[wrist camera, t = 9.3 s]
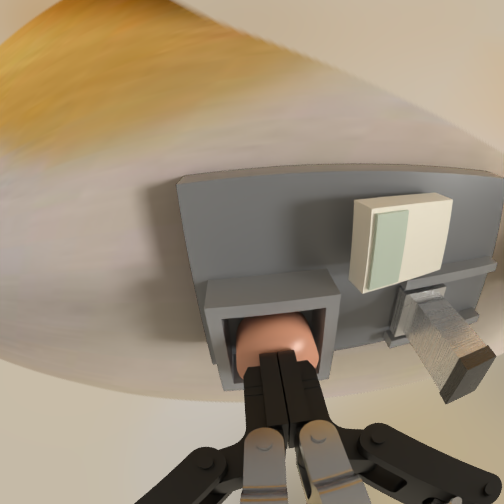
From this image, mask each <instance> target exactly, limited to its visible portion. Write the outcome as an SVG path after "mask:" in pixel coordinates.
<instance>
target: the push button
mask: <svg viewBox="0 0 504 504" xmlns="http://www.w3.org/2000/svg"><path fill="white" fill-rule="evenodd" d="M288 350H294V351H295V355H296V359H297V361H303V360H308V361H309V362H310V363H311V364H312V365H313V366H314V368H316V366H317V364H318V360H319V355H318V351H317V348H316V345H315V342H314V339H313V335H312V332H311V330H310V327H309V324H308V321H307V319H306V318H305V316H304V315H303V314H302V313H300V312H299V311H297V312H289V313H280V314H271V315H261V316H251V317H245V318H244V319H243V320H242V321H241V322H240V324H239V326H238V328H237V331H236V360H237V371H238V374H239V375H240V377H241V378H242V379H243V376H244V374H245V372H246V370H247V368H248V367H254V366H260V361H259V354H262V353H272V352H276V355H277V352H279V351H288Z"/></svg>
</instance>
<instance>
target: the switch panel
mask: <svg viewBox="0 0 504 504" xmlns="http://www.w3.org/2000/svg"><path fill="white" fill-rule="evenodd" d="M176 187H177V194H178V200H179V207H180V213H181V219H182V224H183V230H184V236H185V241H186V247H187V252H188V257H189V262H190V267H191V272H192V277H193V282H194V287H195V292H196V296H197V301H198V305H199V310H200V314H201V318H202V323H203V327H204V331H205V335H206V339H207V344H208V348H209V352H210V355H211V359H212V363H213V364H217V367H218V371H219V375H220V379H221V383H222V386H223V390H224V391H233V390H244V381H243V379H242V378H241V377H240V375H239V374H238V371H237V360H236V331H237V328H238V326H239V324H240V322H241V321H242V320H243V319H244V318H245V317H251V316H261V315H271V314H280V313H289V312H297V311H299V312H300V313H302V314H303V315H304V316H305V318H306V319H307V321H308V324H309V327H310V330H311V332H312V335H313V339H314V342H315V345H316V348H317V351H318V355H319V360H318V364H317V366H316V368H315V370H316V373H317V377H318V380H324V379H329V375H330V369H331V363H332V357H333V351H336V350H341V349H347V348H352V347H357V346H362V345H367V344H372V343H376V342H381V341H385V342H386V343H387V345H388V347H389V348H393V347H397V346H401V345H404V344H408V343H410V342H409V340H408V339H407V337H406V336H405V335H401V336H397V337H394V335H393V334H392V332H391V331H390V329H389V328H390V324H391V320H392V316H393V313H394V309H395V304H396V300H397V296H398V291H399V287H403V289H404V290H405V291H406V290H411V289H416V288H422V287H427V286H431V285H436V284H441V283H443V284H444V285H445V286H446V290H445V293H444V298H445V299H446V300H447V301H448V302H449V303H450V304H451V305H452V307H453V308H454V309H455V310H456V311H457V312H458V313H459V314H460V315H461V317H462V318H463V319H464V320H465V321H466V322H467V323H468V325H469V324H471V323H474V322H477V320H478V317H479V314H478V313H477V312H476V311H475V308H476V305H477V302H478V300H479V297H480V294H481V291H482V288H483V285H484V282H485V279H486V276H487V273H489V272H493V271H495V270H496V267H497V262H496V261H495V260H493V259H492V255H493V251H494V247H495V243H496V239H497V235H498V230H499V225H500V220H501V215H502V209H503V203H504V178H503V177H501V176H498V175H496V174H493V173H490V172H488V171H481V170H472V169H462V168H451V167H438V166H423V165H401V164H316V165H293V166H276V167H262V168H249V169H238V170H228V171H219V172H210V173H201V174H193V175H186V176H184V177H183V178H182V179H181V180H180V181H179V182H178V183H177V184H176ZM423 193H438V194H440V195H443V196H445V197H448V198H450V199H453V204H452V211H451V218H450V224H449V230H448V235H447V241H446V246H445V251H444V255H443V260H442V264H441V268H440V270H437V271H434V272H431V273H428V274H425V275H422V276H419V277H416V278H413V279H410V280H407V281H404V282H400V283H397V284H394V285H391V286H387V287H384V288H381V289H377V290H374V291H370V292H367V293H363V294H362V293H361V292H360V291H359V290H358V289H357V288H356V287H355V286H354V285H353V284H352V283H351V282H350V281H349V280H348V279H349V269H350V259H351V247H352V233H353V215H354V200H358V199H368V198H378V197H388V196H399V195H410V194H423Z"/></svg>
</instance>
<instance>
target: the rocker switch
mask: <svg viewBox="0 0 504 504" xmlns="http://www.w3.org/2000/svg"><path fill="white" fill-rule="evenodd" d="M452 204H453V199H450V198H448V197H445V196H443V195H440V194H438V193H423V194H410V195H399V196H388V197H378V198H368V199H358V200H354V215H353V233H352V247H351V259H350V269H349V279H348V280H349V281H350V282H351V283H352V284H353V285H354V286H355V287H356V288H357V289H358V290H359V291H360V292H361V293H362V294H363V293H367V292H370V291H374V290H377V289H381V288H384V287H387V286H391V285H394V284H397V283H400V282H404V281H407V280H410V279H413V278H416V277H419V276H422V275H425V274H428V273H431V272H434V271H437V270H440V268H441V264H442V260H443V255H444V251H445V246H446V241H447V235H448V230H449V224H450V218H451V211H452Z"/></svg>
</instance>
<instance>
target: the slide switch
mask: <svg viewBox="0 0 504 504" xmlns="http://www.w3.org/2000/svg"><path fill="white" fill-rule="evenodd" d="M445 290H446V286H445V285H444V284H443V283H441V284H436V285H431V286H427V287H422V288H416V289H411V290H406V291H405V290H404V289H403V287H399V291H398V296H397V300H396V304H395V309H394V313H393V316H392V320H391V324H390V328H389V329H390V331H391V332H392V334H393V335H394V337H397V336H401V335H405V336H406V337H407V339H408V340H409V342H410V343H411V345H412V346H413V348H414V350H415V351H416V353H417V354H418V356H419V357H420V359H421V361H422V362H423V364H424V365H425V367H426V369H427V370H428V372H429V374H430V375H431V377H432V378H433V380H434V382H435V383H436V385H437V387H438V388H439V390H440V395H441V397H442V398H443V400H444V402H445V404H448V403H450V402H452V401H454V400H457V399H459V398H461V397H463V396H465V395H467V394H469V393H471V392H472V391H474V390H475V389H476V388H477V386H478V385H479V383H480V382H481V380H482V379H483V377H484V376H485V374H486V372H487V371H488V369H489V368H490V366H491V364H492V363H493V361H494V359H495V358H496V355H495V354H494V352H493V351H492V350H491V349H490V347H489V346H488V345H487V346H486V345H485V344H484V342H483V341H482V340H481V339H480V337H479V336H478V335H477V334H476V333H475V332H474V330H473V329H472V328H471V327H470V326H469V325H468V323H467V322H466V321H465V320H464V319H463V318H462V317H461V315H460V314H459V313H458V312H457V311H456V310H455V309H454V308H453V307H452V305H451V304H450V303H449V302H448V301H447V300H446V299H445V298H444V293H445Z"/></svg>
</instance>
